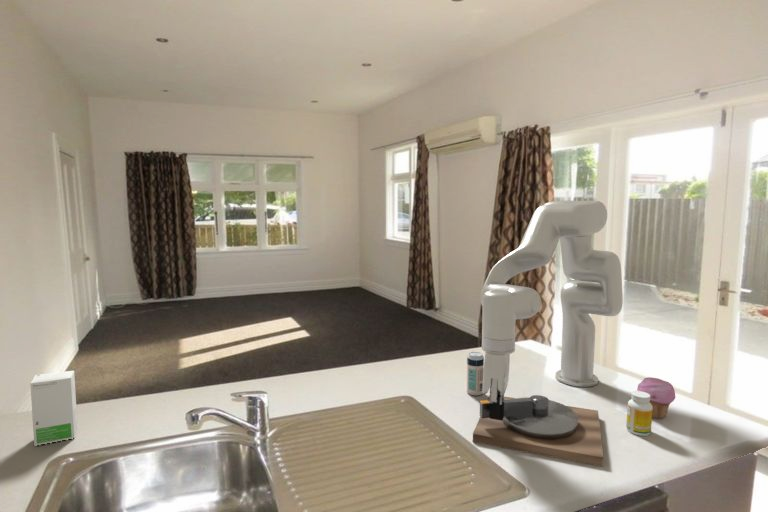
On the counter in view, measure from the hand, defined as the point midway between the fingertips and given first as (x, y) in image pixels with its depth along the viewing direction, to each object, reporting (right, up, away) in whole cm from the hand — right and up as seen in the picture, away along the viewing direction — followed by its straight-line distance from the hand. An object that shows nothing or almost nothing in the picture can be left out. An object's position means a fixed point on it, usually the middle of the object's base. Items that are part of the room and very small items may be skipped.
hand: (496, 418), depth 110 cm
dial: (+9, -3, +5) cm, 10 cm away
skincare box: (-107, -6, +3) cm, 107 cm away
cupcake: (+45, -4, +12) cm, 47 cm away
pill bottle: (0, -2, +27) cm, 28 cm away
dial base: (+12, -5, +6) cm, 14 cm away
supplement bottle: (+36, -5, +4) cm, 37 cm away
